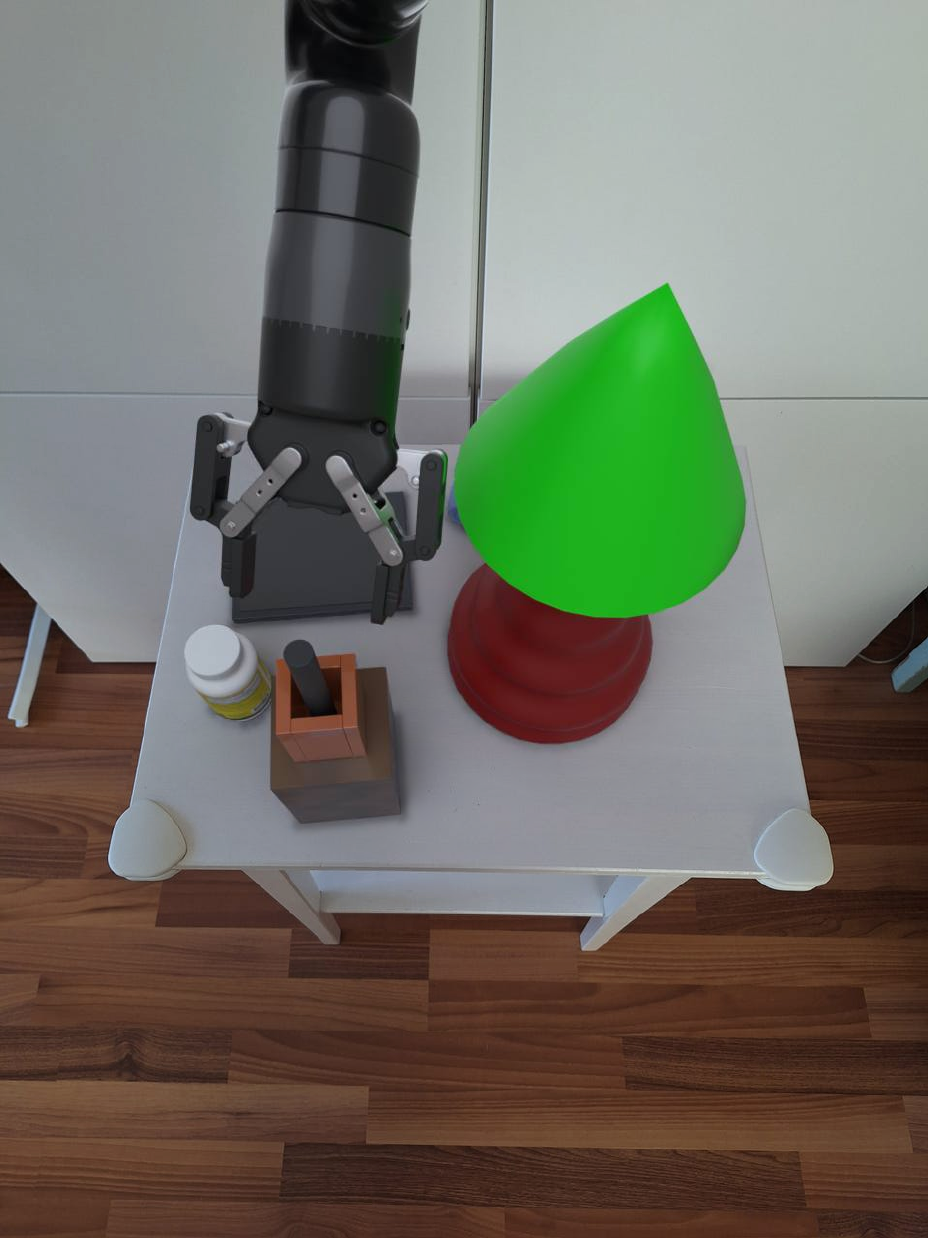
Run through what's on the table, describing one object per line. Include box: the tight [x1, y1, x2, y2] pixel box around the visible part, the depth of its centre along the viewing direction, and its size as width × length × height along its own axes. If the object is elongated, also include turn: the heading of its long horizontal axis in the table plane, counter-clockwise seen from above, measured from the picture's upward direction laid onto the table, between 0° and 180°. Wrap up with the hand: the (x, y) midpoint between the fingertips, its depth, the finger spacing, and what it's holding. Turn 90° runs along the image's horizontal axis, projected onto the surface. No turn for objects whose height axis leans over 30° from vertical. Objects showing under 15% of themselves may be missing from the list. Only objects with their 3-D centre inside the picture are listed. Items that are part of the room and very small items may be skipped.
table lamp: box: [446, 282, 747, 745], centre depth 57 cm, size 20×20×45 cm
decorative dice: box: [447, 481, 463, 526], centre depth 82 cm, size 4×4×4 cm
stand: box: [269, 666, 401, 825], centre depth 65 cm, size 9×9×14 cm
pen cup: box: [275, 652, 367, 763], centre depth 55 cm, size 5×5×8 cm
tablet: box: [231, 491, 413, 624], centre depth 80 cm, size 18×14×1 cm
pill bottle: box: [183, 624, 272, 723], centre depth 69 cm, size 6×6×11 cm
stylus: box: [283, 638, 338, 717], centre depth 52 cm, size 2×2×14 cm
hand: (310, 607), depth 46 cm, fingers open, 8 cm apart
